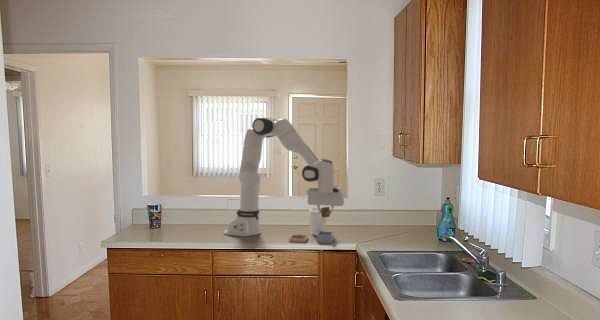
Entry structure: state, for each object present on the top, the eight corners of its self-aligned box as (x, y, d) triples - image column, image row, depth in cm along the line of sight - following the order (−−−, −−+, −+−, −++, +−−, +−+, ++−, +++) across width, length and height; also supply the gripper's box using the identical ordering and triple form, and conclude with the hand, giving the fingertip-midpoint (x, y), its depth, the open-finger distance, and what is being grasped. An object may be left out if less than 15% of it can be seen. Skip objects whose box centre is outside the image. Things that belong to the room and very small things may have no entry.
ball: (295, 240, 237) (295, 235, 237) (296, 239, 240) (296, 233, 240) (300, 240, 236) (300, 235, 236) (301, 239, 239) (302, 233, 239)
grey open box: (316, 243, 233) (316, 234, 233) (319, 239, 241) (319, 231, 241) (331, 244, 231) (331, 235, 231) (333, 240, 239) (333, 232, 239)
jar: (324, 236, 248) (325, 211, 247) (307, 235, 250) (307, 210, 249) (327, 232, 258) (327, 208, 257) (310, 231, 260) (310, 207, 259)
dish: (289, 242, 235) (289, 238, 234) (292, 238, 243) (292, 234, 243) (304, 243, 233) (305, 239, 233) (307, 239, 242) (307, 235, 242)
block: (322, 217, 234) (320, 208, 233) (323, 216, 238) (322, 207, 237) (329, 216, 233) (328, 207, 233) (330, 215, 237) (329, 206, 236)
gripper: (306, 188, 233) (306, 213, 234) (343, 189, 229) (343, 215, 230) (308, 187, 239) (308, 211, 240) (344, 188, 235) (344, 212, 236)
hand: (325, 213), depth 235 cm, fingers closed on block, 4 cm apart
